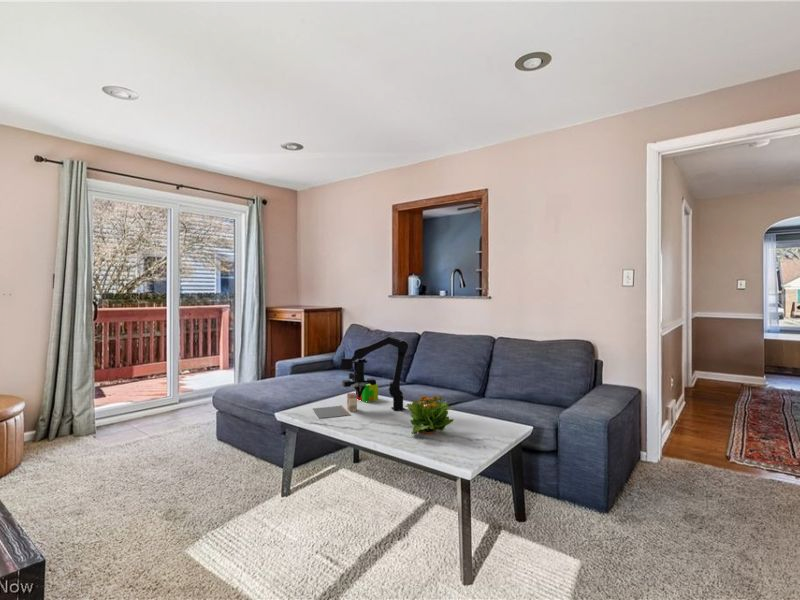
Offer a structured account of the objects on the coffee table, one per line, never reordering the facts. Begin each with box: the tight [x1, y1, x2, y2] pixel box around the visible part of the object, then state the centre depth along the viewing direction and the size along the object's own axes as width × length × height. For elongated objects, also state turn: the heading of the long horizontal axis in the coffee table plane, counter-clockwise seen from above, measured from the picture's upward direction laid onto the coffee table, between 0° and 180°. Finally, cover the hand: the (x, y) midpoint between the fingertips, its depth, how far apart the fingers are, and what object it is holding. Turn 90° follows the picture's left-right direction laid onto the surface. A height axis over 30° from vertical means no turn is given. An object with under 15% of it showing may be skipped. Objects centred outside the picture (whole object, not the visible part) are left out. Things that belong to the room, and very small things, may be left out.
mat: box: [312, 404, 352, 419], centre depth 233 cm, size 20×17×1 cm
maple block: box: [346, 392, 358, 412], centre depth 238 cm, size 6×4×9 cm, turn 22°
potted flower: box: [405, 394, 454, 436], centre depth 201 cm, size 25×24×18 cm
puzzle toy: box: [355, 382, 379, 403], centre depth 262 cm, size 10×10×10 cm
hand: (359, 397), depth 239 cm, fingers closed
